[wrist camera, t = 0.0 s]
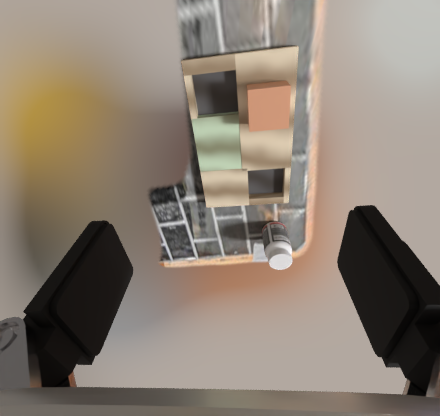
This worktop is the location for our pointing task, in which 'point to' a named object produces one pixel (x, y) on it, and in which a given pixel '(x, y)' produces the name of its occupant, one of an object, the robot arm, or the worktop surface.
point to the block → (268, 106)
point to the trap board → (239, 126)
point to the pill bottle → (277, 245)
